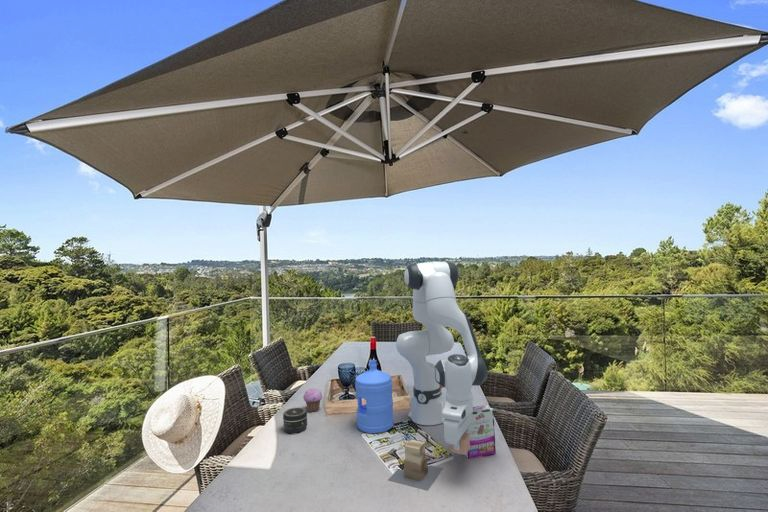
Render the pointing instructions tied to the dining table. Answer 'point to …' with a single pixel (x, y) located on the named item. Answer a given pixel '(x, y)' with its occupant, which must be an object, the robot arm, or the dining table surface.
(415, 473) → the tower base
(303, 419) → the jar
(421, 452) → the tower mid
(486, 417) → the candy bar box
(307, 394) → the cupcake
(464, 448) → the terracotta block
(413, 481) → the mat
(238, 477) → the dining table surface
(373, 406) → the water jug
